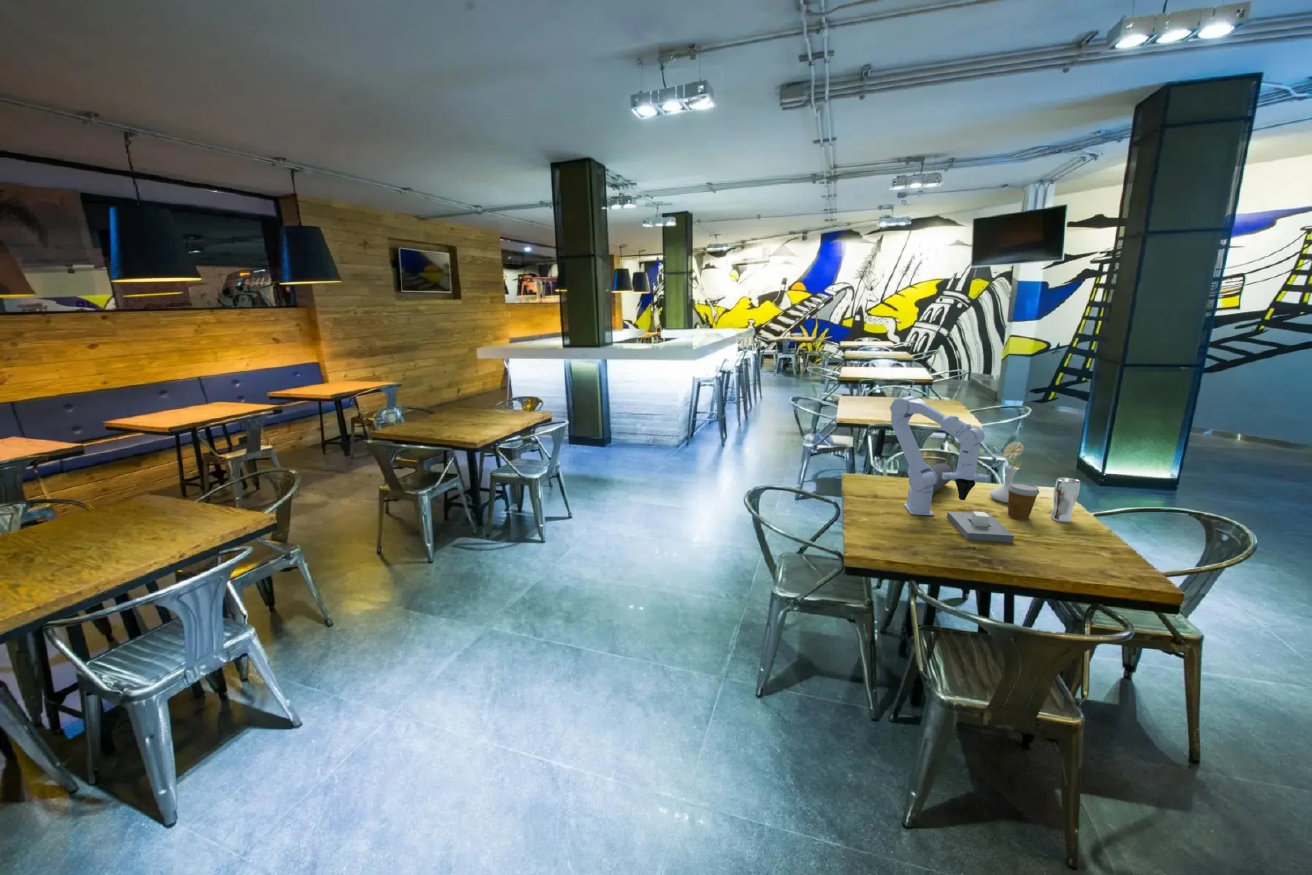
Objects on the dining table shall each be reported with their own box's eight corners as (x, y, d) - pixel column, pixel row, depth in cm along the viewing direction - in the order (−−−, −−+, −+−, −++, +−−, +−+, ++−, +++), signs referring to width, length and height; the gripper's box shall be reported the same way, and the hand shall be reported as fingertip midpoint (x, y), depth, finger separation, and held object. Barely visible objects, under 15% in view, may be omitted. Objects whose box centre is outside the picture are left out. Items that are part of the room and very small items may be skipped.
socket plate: (946, 517, 189) (947, 511, 188) (988, 520, 187) (989, 513, 186) (966, 539, 172) (967, 532, 171) (1012, 542, 170) (1014, 535, 169)
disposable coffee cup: (1040, 522, 185) (1046, 490, 182) (1013, 522, 185) (1019, 490, 182) (1021, 511, 194) (1027, 481, 191) (996, 511, 194) (1002, 481, 191)
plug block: (969, 527, 181) (972, 511, 180) (982, 528, 181) (985, 512, 179) (974, 531, 178) (976, 515, 176) (986, 532, 177) (989, 516, 175)
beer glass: (1069, 517, 189) (1078, 478, 185) (1075, 524, 183) (1084, 484, 179) (1046, 514, 192) (1054, 475, 188) (1051, 521, 186) (1059, 481, 182)
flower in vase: (985, 493, 212) (995, 434, 206) (1017, 496, 209) (1028, 437, 202) (994, 505, 200) (1005, 443, 194) (1028, 508, 197) (1041, 445, 190)
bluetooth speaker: (929, 481, 227) (932, 459, 224) (953, 486, 220) (956, 464, 218) (909, 494, 212) (912, 471, 209) (933, 500, 205) (936, 477, 203)
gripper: (949, 464, 175) (943, 502, 179) (995, 466, 173) (989, 504, 177) (941, 458, 182) (936, 494, 186) (986, 460, 180) (980, 497, 183)
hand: (961, 499), depth 182 cm, fingers closed
